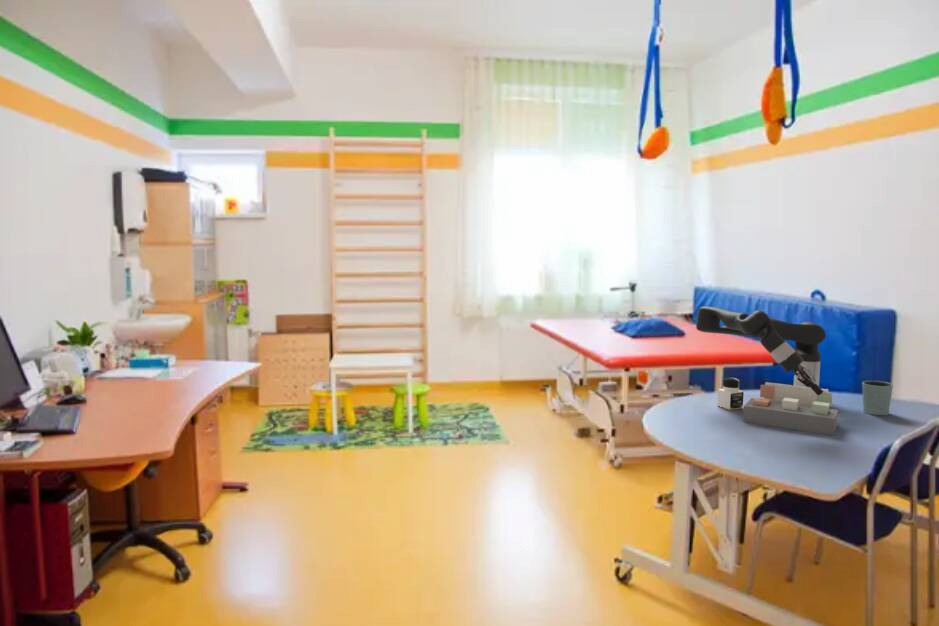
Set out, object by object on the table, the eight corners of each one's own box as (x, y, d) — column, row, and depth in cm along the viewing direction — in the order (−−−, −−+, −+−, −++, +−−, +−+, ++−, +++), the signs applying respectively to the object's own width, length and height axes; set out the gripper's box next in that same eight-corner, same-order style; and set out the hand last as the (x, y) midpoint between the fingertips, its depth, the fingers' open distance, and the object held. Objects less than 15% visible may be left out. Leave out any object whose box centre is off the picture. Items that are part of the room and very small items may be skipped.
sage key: (811, 416, 236) (812, 404, 236) (813, 413, 240) (814, 401, 240) (827, 418, 233) (828, 406, 233) (828, 415, 238) (829, 403, 237)
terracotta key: (752, 412, 248) (753, 400, 247) (755, 409, 252) (756, 397, 251) (766, 414, 245) (767, 402, 244) (769, 411, 249) (770, 399, 248)
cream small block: (781, 411, 242) (782, 400, 241) (783, 408, 246) (784, 397, 245) (796, 414, 239) (797, 402, 239) (798, 410, 243) (799, 399, 243)
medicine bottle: (730, 410, 261) (731, 381, 260) (716, 406, 268) (718, 377, 266) (743, 408, 264) (744, 379, 263) (729, 404, 270) (731, 375, 269)
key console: (742, 421, 246) (744, 390, 244) (753, 409, 261) (754, 380, 260) (832, 435, 229) (835, 402, 227) (838, 422, 245) (840, 391, 243)
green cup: (893, 417, 251) (895, 387, 249) (863, 414, 254) (865, 385, 252) (886, 410, 260) (888, 381, 258) (857, 408, 263) (859, 379, 262)
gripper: (781, 360, 248) (814, 396, 243) (774, 365, 238) (809, 403, 232) (797, 347, 245) (831, 384, 239) (791, 353, 234) (827, 391, 229)
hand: (820, 393), depth 236 cm, fingers closed
